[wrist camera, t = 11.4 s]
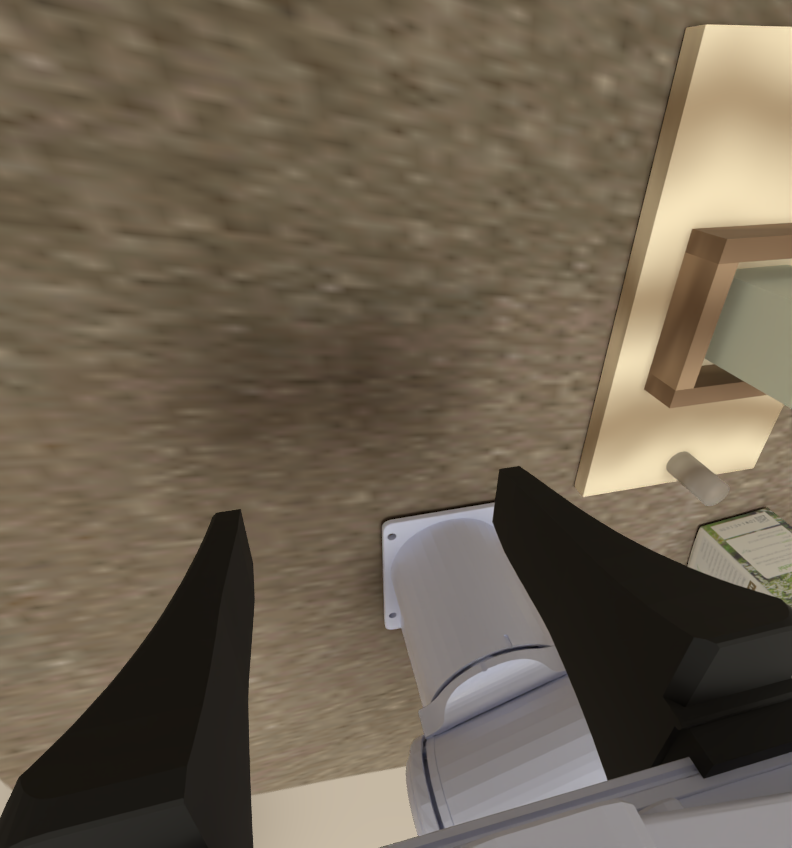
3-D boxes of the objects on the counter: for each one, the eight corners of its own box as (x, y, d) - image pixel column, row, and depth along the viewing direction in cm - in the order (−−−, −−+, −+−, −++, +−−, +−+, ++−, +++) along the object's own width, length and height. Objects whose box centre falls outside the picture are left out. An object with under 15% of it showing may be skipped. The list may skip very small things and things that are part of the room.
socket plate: (740, 458, 33) (794, 498, 30) (574, 486, 31) (612, 532, 27) (935, 34, 21) (1061, 22, 18) (686, 27, 19) (777, 12, 15)
